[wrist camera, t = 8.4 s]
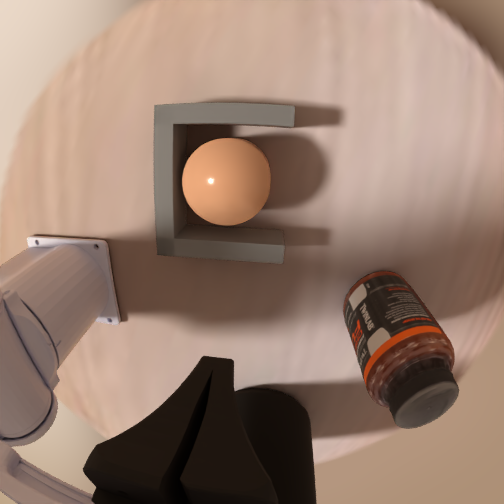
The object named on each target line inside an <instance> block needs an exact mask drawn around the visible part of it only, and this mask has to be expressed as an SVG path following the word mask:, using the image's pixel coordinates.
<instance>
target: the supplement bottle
mask: <svg viewBox="0 0 504 504" xmlns="http://www.w3.org/2000/svg"><path fill="white" fill-rule="evenodd" d="M343 312H344V318H345V323H346V326H347V329H348V332H349V334H350V337H351V340H352V343H353V346H354V349H355V352H356V355H357V358H358V362H359V365H360V368H361V372H362V375H363V378H364V381H365V384H366V387H367V390H368V393H369V395H370V396H371V398H372V399H373V400H374V401H375V402H376V403H378V404H380V405H381V406H385V407H389V408H390V411H391V413H392V416H393V418H394V421H395V423H396V424H397V426H399V427H401V428H406V429H410V428H417V427H420V426H423V425H426V424H427V423H430V422H432V421H434V420H435V419H437V418H438V417H440V416H441V415H443V414H444V413H445V412H446V411H447V410H448V409H449V408H450V407H451V406H452V405H453V403H454V402H455V400H456V399H457V396H458V393H459V389H458V385H457V383H456V381H455V380H454V377H453V374H452V373H451V371H452V368H453V365H454V349H453V346H452V344H451V342H450V340H449V339H448V337H447V336H446V334H445V333H444V331H443V330H442V328H441V327H440V325H439V324H438V323H437V321H436V320H435V318H434V317H433V316H432V314H431V313H430V311H429V310H428V309H427V307H426V306H425V305H424V303H423V302H422V301H421V299H420V298H419V297H418V295H417V294H416V293H415V291H414V290H413V289H412V287H411V286H410V285H409V284H408V283H407V282H406V281H405V279H404V278H402V277H401V276H400V275H398V274H396V273H393V272H388V271H381V272H375V273H372V274H369V275H367V276H365V277H363V278H362V279H360V280H359V281H358V282H357V283H356V284H355V285H354V286H353V287H352V288H351V289H350V291H349V293H348V294H347V296H346V298H345V302H344V307H343Z"/></svg>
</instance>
